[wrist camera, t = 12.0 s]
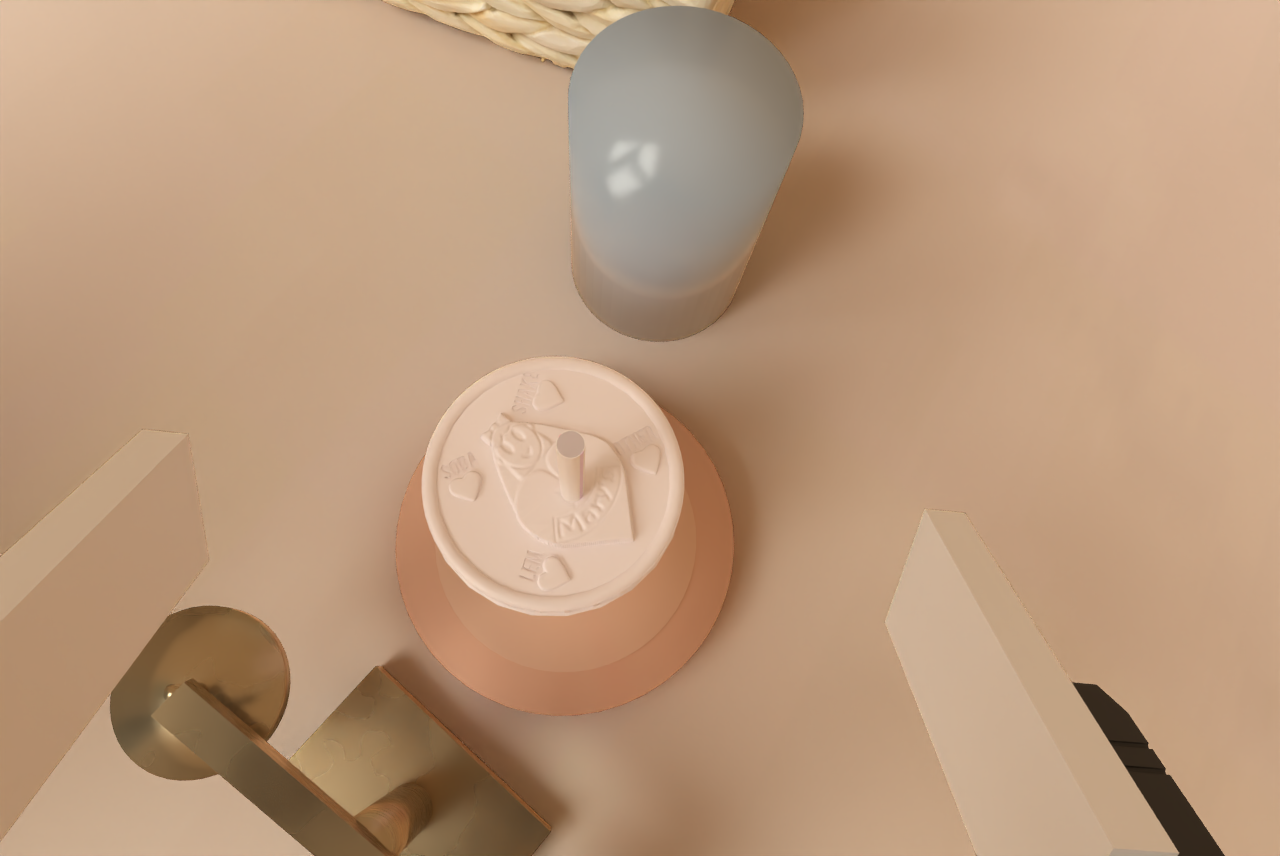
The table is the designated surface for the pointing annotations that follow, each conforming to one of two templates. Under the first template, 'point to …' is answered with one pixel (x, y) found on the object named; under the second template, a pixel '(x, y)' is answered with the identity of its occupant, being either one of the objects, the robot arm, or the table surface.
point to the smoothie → (553, 485)
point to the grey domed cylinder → (674, 165)
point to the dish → (584, 642)
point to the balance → (312, 748)
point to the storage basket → (542, 21)
